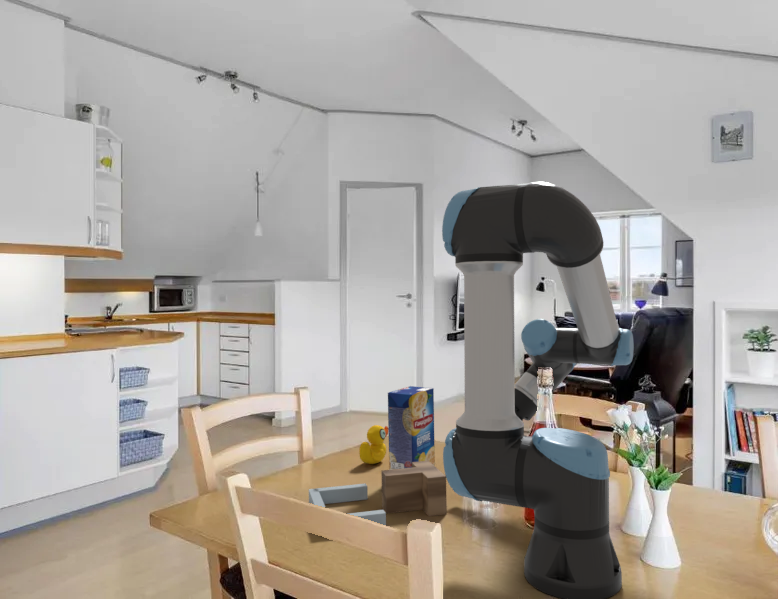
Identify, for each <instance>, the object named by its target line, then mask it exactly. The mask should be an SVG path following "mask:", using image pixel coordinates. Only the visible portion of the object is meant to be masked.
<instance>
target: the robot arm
mask: <svg viewBox="0 0 778 599" xmlns="http://www.w3.org/2000/svg"><path fill="white" fill-rule="evenodd" d="M600 227H601V226H600V225H599V223H598V221H597V219H596V217H595V215H594V214H593V212H592V211H591V210H590V209H589V208H588V206H586V204H585V203H584V202H583V201H581V200H580V199H579V198H578V197H577V196H576V195H575V194H573V193H571V192H570V191H569V190H567V189H565V188H564V187H563V186H562V187H561V186H559V185H557V184H554V183H550V182H547V181H546V182H545V181H531V182H528V183H517V184H515V183H514V184H503V185H492V186H491V185H490V186H479V187H478V186H477V187H476V188H472V189H471V188H470V189H465V190H461V191H459V192H457V193H455V194H454V195H453V196H452V197H451V199H450V201H449V202H448V204H447V206H446V208H445V211H444V214H443V219H442V226H441V229H442V230H441V232H442V233H441V234H442V236H441V237H442V241H443V243H444V244H443V245H444V250H445V251H446V253H447V254H448V255H449V256H452V257H454V258H455V260H454V261H455V262H454V263H455V267H456V268H457V269H458V270H459V271H460V272H461V273H462V275H463V276H464V277H463V288H464V289H463V290H464V291H463V303H464V304H463V305H464V309H463V311H464V318H463V319H464V321H463V324H464V326H463V328H464V329H463V331H464V332H463V334H464V336H463V337H464V338H463V339H464V341H463V342H464V344H463V346H464V411H463V413H462V414H461V415H460V416H459V417H458V418H457V419H456V421H455V428H453V429H451V430H450V431H449V432H448V433H447V435H446V436H445V440H444V444H445V446H443V448H442V449H443V450H442V461H443V462H442V463H443V464H442V465H443V469H444V475H445V476H446V482H448V485H449V486H450V488H452V491H453V492H454V493H455V494H457V495H458V496H461V497H463V498H469V499H473V500H475V502H476V501H477V502H487V503H488V502H489V503H494V504H501V505H505V506H506V505H507V506H513V507H519V508H526V509H531V510H533V513H534V528H533V530H532V534H531V537H530V539H529V540H530V541H529V544H528V546H527V550H526V553H525V556H524V561H523V569H524V570H523V573H524V578H525V579H526V581H527V582H528V583H529V584H530V585H531V586H532V587H533V588H535V589H537V590H539V591H540V592H543V593H544V594H547V595H550V596H552V597H556V598H561V599H607V598H610V597H613V596H614V595H616V594H617V593H618V592H620V590H621V589H622V586H623V585H622V584H623V582H622V581H623V580H622V576H623V574H622V567H621V565H620V561H619V558H618V555H617V552H616V549H615V546H614V544H613V541H612V538H611V535H610V476H611V472H610V469H609V454H608V450H607V447H606V446H605V445H604V444H603V442H601V441H600V440H599V439H597V438H595V437H593V436H592V435H589V434H587V433H583V432H580V431H577V430H574V429H573V430H572V429H568V428H562V427H555V428H552V427H541V428H537V429H536V430H534V431H533V434H532V435H530V436H529V435H525V425H524V422H523V421H530V420H531V419H532V418H533V417H534V416H535V415H536V413H537V412H538V411H537V407H538V406H537V400H538V399H537V394H538V387H537V371H538V367H551V368H552V369H553V377H554V386H553V390H552V394H553V393H554V391H555V390H556V389H557V388H558V387H559V385H561V383H562V382H563V381H564V380H565V379H566V377H567V376H568V375H569V374H570V373H572V371H573V370H574V368H575V366H576V365H577V364H581V365H583V364H584V365H601V366H610V367H613V366H628V365H630V364H631V363H632V362H633V358H634V349H635V347H634V346H635V344H634V334H633V332H632V330H630V329H627V328H621V327H619V325H618V321H617V318H616V313H615V310H614V306H613V305H614V304H613V301H612V297H611V293H610V289H609V285H608V282H607V277H606V273H605V269H604V268H605V267H604V264H603V260H602V256H601V253H602V251H603V249H604V239H603V238H604V237H603V234H602V230H601V228H600ZM529 253H530V254H532V253H542V254H545V256H546V257H547V259H548V261H549V262H550V263H551V265H553V266H555V267H556V268H557V271H558V274H559V277H560V279H561V280H560V281H561V282H562V286H563V289H564V292H565V295H566V297H567V301H568V305H569V307H570V309H571V313H572V315H573V318H574V322H575V324H576V327H555V325H554V324H553V323H552V322H550V321H549V320H547V319H545V318H537V319H532V320H531V321H529V322H527V324H526V325H525V326H523V328H522V330H521V334H520V337H521V339H520V340H521V341H522V344H523V347H524V351H525V352H526V354H527V355H528V357H529V358H530V361H531V362H532V364H531V365H530V366H529V368H528V369H527V370H526V371H525V372H524V373H523V374H522V376H520V378H519V379H518V380H517V381H516V380H515V377H516V376H515V369H516V368H515V274H516V273H517V271H518V270H520V268H522V267H523V266H524V254H529ZM515 381H516V382H515ZM536 411H537V412H536Z"/></svg>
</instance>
